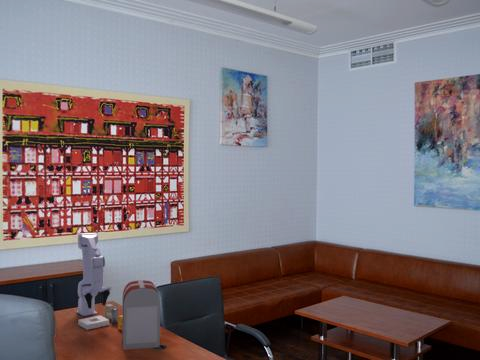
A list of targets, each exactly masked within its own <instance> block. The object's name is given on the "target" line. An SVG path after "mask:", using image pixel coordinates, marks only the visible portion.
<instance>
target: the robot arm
mask: <svg viewBox="0 0 480 360" xmlns="http://www.w3.org/2000/svg"><path fill="white" fill-rule="evenodd" d="M98 242H99V235H98V233H97V232H84V233H83V232H82V233H81V232H79V233H78V235H77V246H78V249H80V250H81V252H82V255H81V256H82V277H83V278H82V280H80V281H79V282H78V285H77V296H78V301H77V307H78V308H77V311H76V313H77V314H79V315H81V316H83V317H85V316H92V315H96V314H98V312H97V311H96V310H95V303H96V302H95V298H96V296H97V295H98V293H101V305H102V306H104V307H105V305H107V300H108V298H109V296H110V294H111V291H112V286H109V285H108V286H104V268H105V265H106V261H105V260H106V259H105V256H104V255H102V253H101V251H100V249H99V248H98V247H97V244H98Z"/></svg>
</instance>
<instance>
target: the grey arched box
mask: <svg viewBox="0 0 480 360" xmlns="http://www.w3.org/2000/svg"><path fill="white" fill-rule="evenodd" d="M121 311H122V314H121V315H122V330H121V345H122V350H124V351H125V350H138V349H150V348H151V349H152V348H153V349H154V348H160V339H161V298H160V294H159V291H158V289H157V288H156V285H155V283H154V282H152V281H150V280H144V279H138V280H132V281H129V282H127V284H126V285H125V286H124V288H123V292H122V310H121Z"/></svg>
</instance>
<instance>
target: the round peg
mask: <svg viewBox="0 0 480 360" xmlns="http://www.w3.org/2000/svg"><path fill="white" fill-rule="evenodd" d="M118 317H119V308H117V307H113V308H112V315H111V319H110V321H111V324H118V323H117V322H118Z"/></svg>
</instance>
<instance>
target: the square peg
mask: <svg viewBox="0 0 480 360" xmlns="http://www.w3.org/2000/svg"><path fill="white" fill-rule="evenodd" d="M112 308H114V305H113V304H111V303H107V304H105V306H104V317H105V318H106V319H108V320H111V315H112Z"/></svg>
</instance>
